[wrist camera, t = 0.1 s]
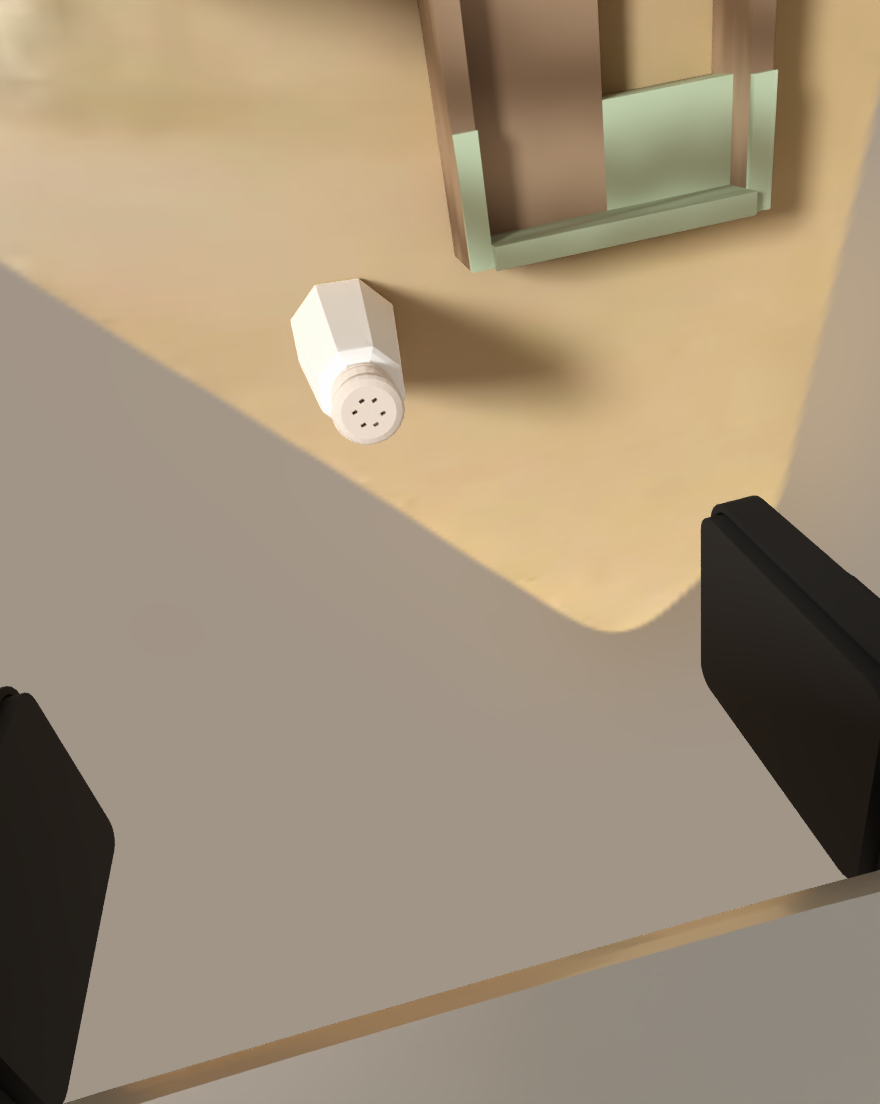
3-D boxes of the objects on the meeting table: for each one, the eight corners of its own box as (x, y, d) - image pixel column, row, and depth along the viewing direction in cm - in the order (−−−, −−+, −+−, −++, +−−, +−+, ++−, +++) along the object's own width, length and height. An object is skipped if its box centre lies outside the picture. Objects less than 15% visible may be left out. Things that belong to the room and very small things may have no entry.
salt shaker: (418, 350, 41) (463, 432, 32) (328, 404, 41) (346, 501, 32) (363, 253, 38) (394, 313, 29) (267, 313, 39) (267, 391, 29)
